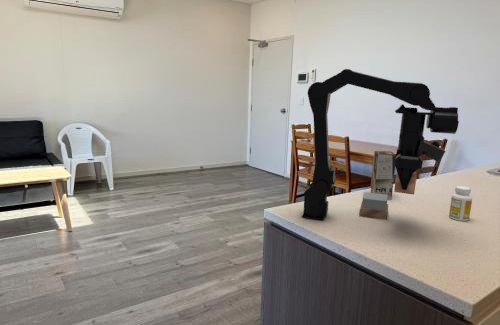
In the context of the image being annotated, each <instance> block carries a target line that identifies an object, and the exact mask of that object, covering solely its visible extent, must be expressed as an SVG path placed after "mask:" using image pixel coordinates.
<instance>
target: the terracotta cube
mask: <svg viewBox="0 0 500 325" xmlns="http://www.w3.org/2000/svg"><path fill="white" fill-rule="evenodd" d="M394 182H395V183H394V188H393V189H394V190H393V192H394V193H397V194H398V193H399V194H405V195H406V194H407V195H413V196H414V195H415V191H416V184H417V172H414V173H413V174H412V177H411V179H410V182H409V185H408V187H407V190H403V189H402V187H401V183H400V180H399V176H398V173H397V171H396V174H395V179H394Z"/></svg>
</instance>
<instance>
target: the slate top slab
mask: <svg viewBox="0 0 500 325" xmlns="http://www.w3.org/2000/svg"><path fill="white" fill-rule="evenodd" d="M361 203H362V208H368V209H376V210H383V211H386V208H387V204H388V199H387V195H383V194H375V193H371V192H363V195H362V200H361Z"/></svg>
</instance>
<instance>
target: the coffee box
mask: <svg viewBox="0 0 500 325" xmlns="http://www.w3.org/2000/svg"><path fill="white" fill-rule="evenodd" d="M395 161H396V154H395V153H394V152H393V151H387V150H386V151H385V150H384V151H383V150H380V151H379V150H374V152H373V160H372V172H371V174H372V175H371V184H370V193H375V194H383V195H387V201H389V200H390V201H391V200H392V199H393V192H394V190H393V189H394V182H395V171H396V167H395Z"/></svg>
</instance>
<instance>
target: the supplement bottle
mask: <svg viewBox="0 0 500 325" xmlns="http://www.w3.org/2000/svg"><path fill="white" fill-rule="evenodd" d="M454 191H455V192H454V193H452V195H451V198H450V206H449V215H448V216H449V218H450V219H453V220H456V221H458V222H459V221H460V222H461V221H462V222H467V221H469V220H470V216H471V211H472V204H473V197H472V195H471V192H472V189H471V187H469V186H464V185H463V186H462V185H458V186H455V189H454Z"/></svg>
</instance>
